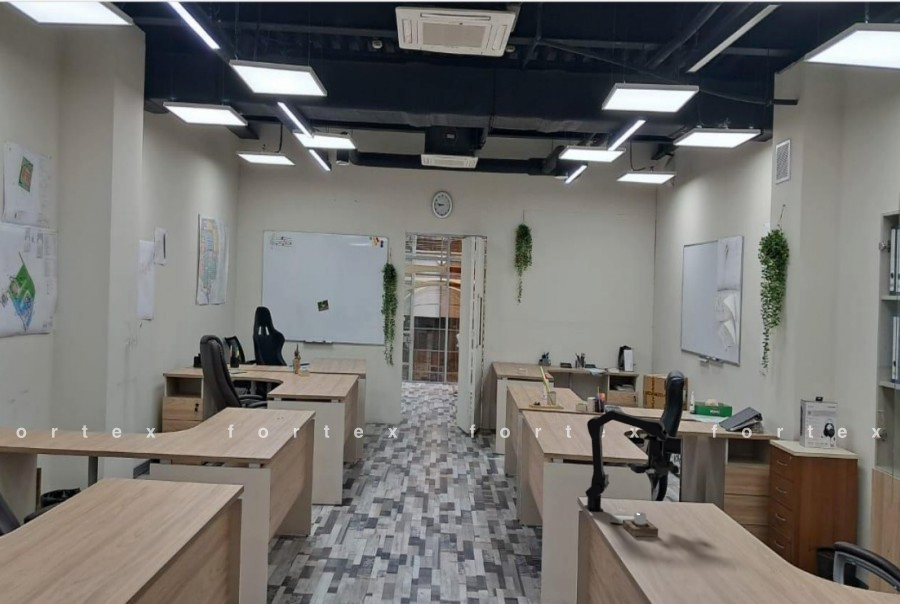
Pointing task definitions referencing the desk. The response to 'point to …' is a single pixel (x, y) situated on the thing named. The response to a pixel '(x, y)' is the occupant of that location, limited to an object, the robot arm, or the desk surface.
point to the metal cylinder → (640, 519)
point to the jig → (640, 528)
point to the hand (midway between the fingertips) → (653, 488)
